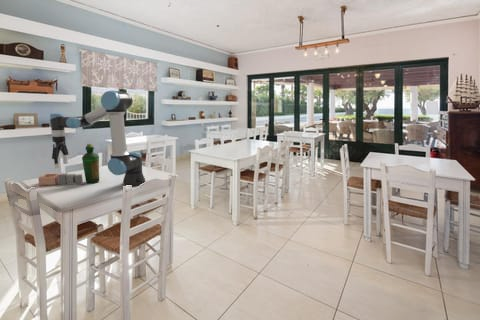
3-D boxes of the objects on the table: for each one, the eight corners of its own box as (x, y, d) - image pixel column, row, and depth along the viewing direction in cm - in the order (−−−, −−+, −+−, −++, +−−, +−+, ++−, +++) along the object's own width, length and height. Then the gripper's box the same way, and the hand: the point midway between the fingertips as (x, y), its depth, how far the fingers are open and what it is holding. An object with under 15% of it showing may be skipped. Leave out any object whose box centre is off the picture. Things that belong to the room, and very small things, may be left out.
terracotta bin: (61, 181, 199) (60, 173, 198) (55, 185, 189) (54, 176, 188) (46, 181, 197) (45, 173, 196) (39, 185, 187) (38, 177, 186)
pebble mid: (76, 182, 197) (75, 173, 196) (73, 184, 193) (72, 175, 192) (69, 182, 197) (68, 173, 195) (66, 184, 193) (65, 175, 191)
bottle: (101, 183, 196) (98, 144, 191) (84, 185, 191) (80, 145, 186) (100, 179, 205) (97, 143, 200) (84, 181, 200) (80, 143, 195)
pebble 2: (82, 182, 198) (82, 174, 197) (81, 183, 195) (81, 175, 193) (76, 182, 197) (75, 174, 196) (75, 184, 193) (74, 175, 192)
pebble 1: (68, 182, 196) (67, 173, 195) (66, 184, 192) (65, 174, 191) (61, 182, 196) (60, 173, 194) (59, 184, 191) (57, 174, 190)
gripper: (60, 134, 198) (63, 162, 203) (43, 138, 174) (47, 170, 179) (71, 134, 200) (74, 162, 204) (56, 138, 176) (59, 170, 180)
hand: (61, 166), depth 191 cm, fingers open, 13 cm apart
